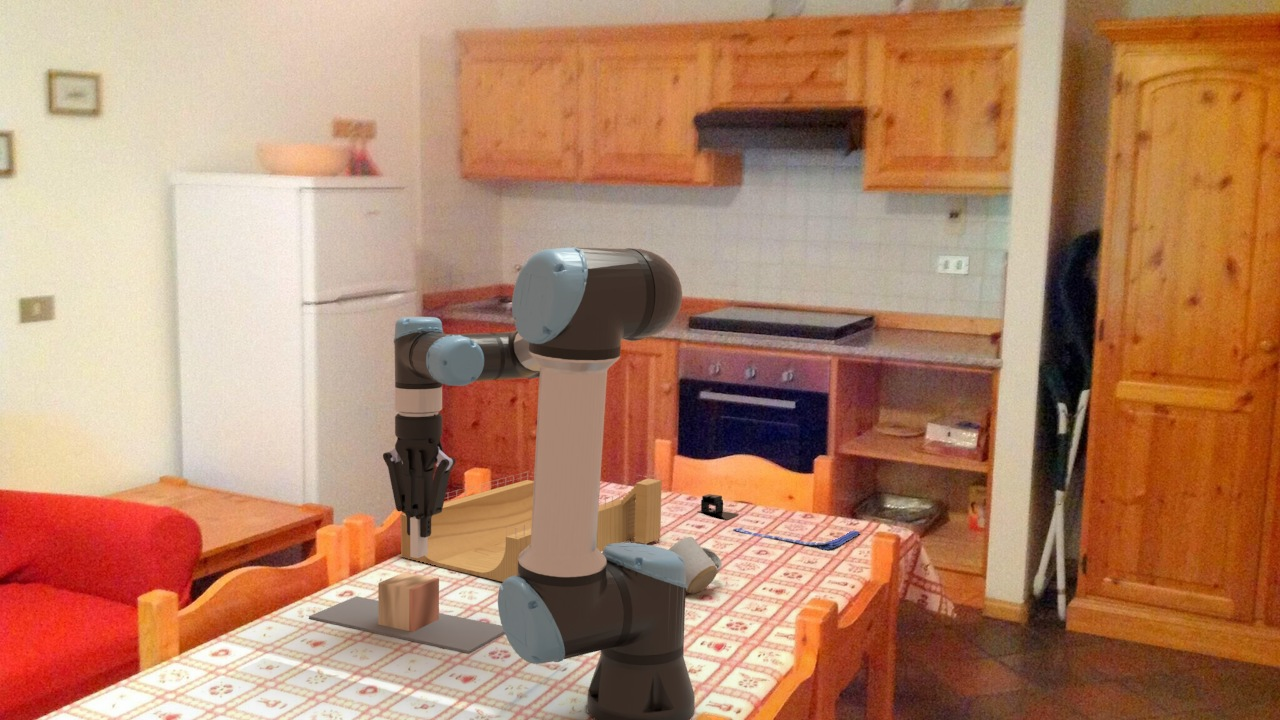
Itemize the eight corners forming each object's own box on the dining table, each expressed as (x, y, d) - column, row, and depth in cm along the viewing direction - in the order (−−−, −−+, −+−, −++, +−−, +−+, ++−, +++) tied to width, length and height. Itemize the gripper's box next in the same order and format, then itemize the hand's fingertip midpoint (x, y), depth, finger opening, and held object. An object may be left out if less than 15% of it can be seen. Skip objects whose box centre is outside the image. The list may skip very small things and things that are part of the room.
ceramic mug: (687, 603, 208) (692, 579, 202) (658, 572, 212) (663, 548, 206) (730, 574, 213) (736, 551, 207) (702, 545, 217) (707, 520, 212)
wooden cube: (378, 624, 187) (413, 631, 184) (378, 583, 186) (413, 589, 183) (404, 612, 193) (438, 619, 190) (404, 572, 193) (439, 578, 190)
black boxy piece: (681, 515, 264) (681, 495, 264) (698, 510, 270) (698, 490, 270) (726, 521, 257) (726, 500, 257) (743, 515, 263) (743, 495, 262)
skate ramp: (527, 521, 258) (528, 451, 257) (659, 547, 240) (661, 472, 238) (400, 561, 225) (400, 481, 223) (543, 596, 206) (544, 509, 204)
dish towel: (830, 557, 235) (830, 544, 235) (730, 538, 249) (730, 525, 248) (863, 540, 249) (864, 527, 249) (767, 522, 263) (768, 510, 262)
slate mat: (469, 653, 176) (469, 650, 176) (309, 618, 190) (308, 616, 190) (510, 629, 187) (510, 627, 187) (356, 598, 201) (356, 596, 201)
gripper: (465, 413, 184) (465, 555, 187) (400, 406, 190) (401, 545, 193) (438, 419, 178) (438, 566, 180) (371, 412, 183) (372, 555, 186)
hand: (419, 555), depth 186 cm, fingers closed
